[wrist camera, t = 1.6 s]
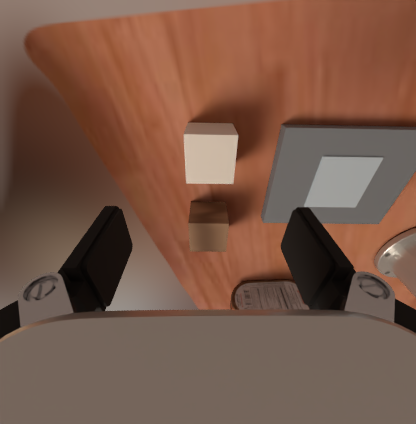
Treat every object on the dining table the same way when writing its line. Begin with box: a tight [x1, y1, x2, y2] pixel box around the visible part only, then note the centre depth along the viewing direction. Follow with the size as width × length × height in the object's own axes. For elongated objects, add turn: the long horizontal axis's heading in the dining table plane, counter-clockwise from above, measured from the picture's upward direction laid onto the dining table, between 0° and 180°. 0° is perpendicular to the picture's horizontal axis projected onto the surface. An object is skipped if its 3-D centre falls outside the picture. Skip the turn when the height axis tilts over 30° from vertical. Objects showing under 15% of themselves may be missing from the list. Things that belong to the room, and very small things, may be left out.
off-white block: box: [184, 122, 238, 184], centre depth 21 cm, size 5×5×5 cm
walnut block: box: [188, 201, 229, 252], centre depth 27 cm, size 5×5×5 cm
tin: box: [230, 280, 310, 310], centre depth 36 cm, size 15×3×8 cm, turn 94°
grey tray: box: [261, 124, 416, 224], centre depth 25 cm, size 17×13×2 cm
